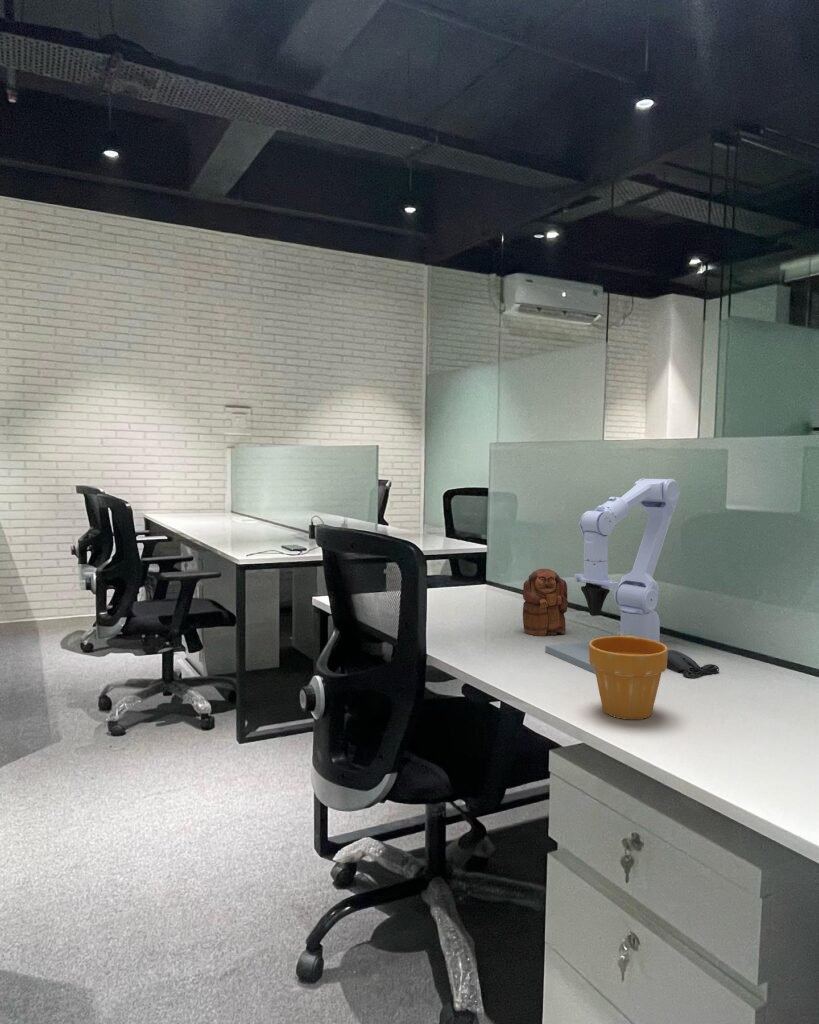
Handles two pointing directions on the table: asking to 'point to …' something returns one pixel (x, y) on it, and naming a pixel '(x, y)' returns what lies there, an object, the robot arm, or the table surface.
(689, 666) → the computer mouse
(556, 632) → the wooden figurine
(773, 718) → the table surface
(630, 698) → the flower pot
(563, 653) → the base board
